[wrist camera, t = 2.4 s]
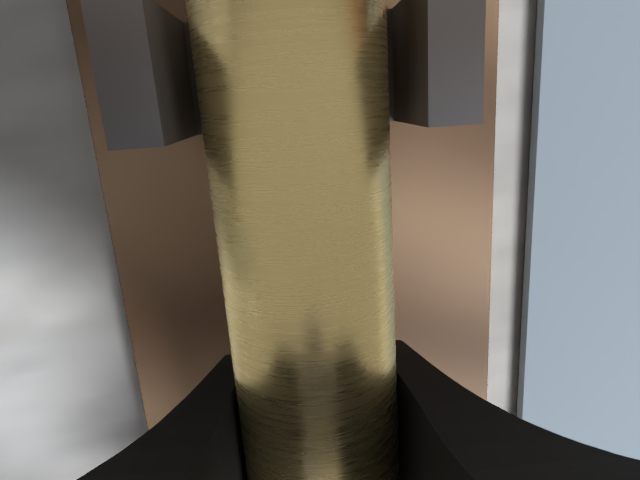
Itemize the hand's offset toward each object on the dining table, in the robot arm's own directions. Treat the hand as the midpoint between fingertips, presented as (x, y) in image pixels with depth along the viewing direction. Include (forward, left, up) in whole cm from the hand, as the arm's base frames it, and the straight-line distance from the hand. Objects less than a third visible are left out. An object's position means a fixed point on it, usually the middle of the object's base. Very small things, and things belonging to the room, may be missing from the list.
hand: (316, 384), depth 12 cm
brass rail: (0, 0, +2) cm, 2 cm away
